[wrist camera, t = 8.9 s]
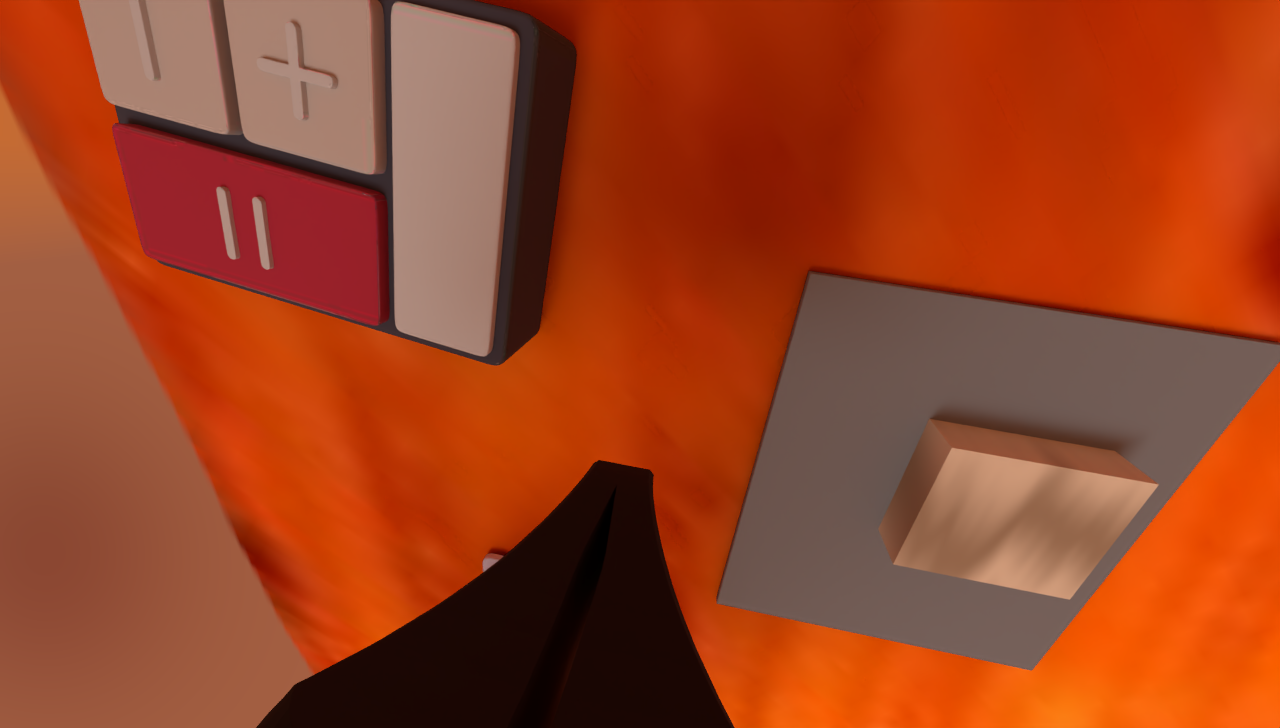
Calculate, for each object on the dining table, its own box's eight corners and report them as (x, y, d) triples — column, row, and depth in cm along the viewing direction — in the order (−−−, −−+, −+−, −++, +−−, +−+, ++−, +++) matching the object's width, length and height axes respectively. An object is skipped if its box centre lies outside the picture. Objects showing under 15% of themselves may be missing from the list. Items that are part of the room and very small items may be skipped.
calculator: (24, -113, 13) (528, 6, 12) (188, -52, 17) (581, 42, 16) (128, 267, 18) (492, 379, 17) (237, 247, 22) (540, 336, 20)
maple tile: (878, 529, 21) (1039, 560, 21) (893, 564, 20) (1069, 599, 19) (929, 418, 19) (1115, 451, 18) (952, 447, 17) (1158, 484, 16)
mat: (1027, 662, 24) (1031, 670, 24) (716, 596, 25) (716, 603, 25) (1278, 342, 16) (1291, 346, 16) (808, 271, 17) (810, 273, 17)
